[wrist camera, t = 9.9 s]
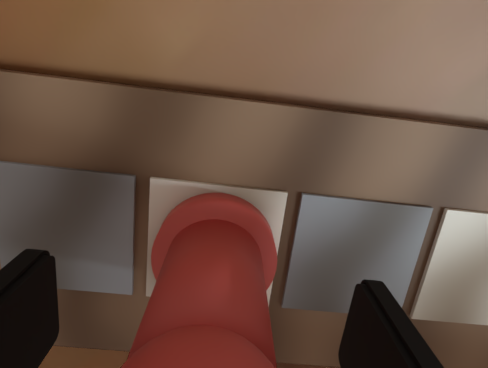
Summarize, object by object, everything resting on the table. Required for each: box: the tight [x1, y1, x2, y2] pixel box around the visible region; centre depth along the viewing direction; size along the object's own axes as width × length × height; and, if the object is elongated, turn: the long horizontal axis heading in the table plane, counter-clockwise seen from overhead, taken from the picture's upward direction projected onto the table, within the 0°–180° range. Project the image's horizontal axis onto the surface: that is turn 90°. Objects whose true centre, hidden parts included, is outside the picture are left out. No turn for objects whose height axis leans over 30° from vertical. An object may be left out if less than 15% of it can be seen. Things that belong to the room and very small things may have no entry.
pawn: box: [120, 193, 277, 368], centre depth 9 cm, size 5×5×10 cm
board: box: [0, 69, 488, 368], centre depth 15 cm, size 26×12×1 cm, turn 83°
